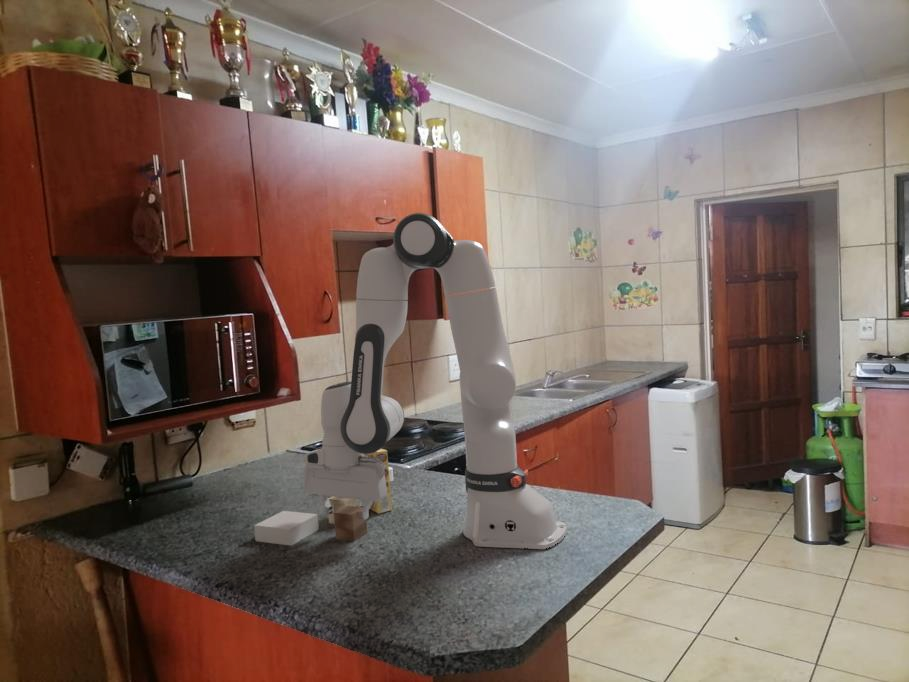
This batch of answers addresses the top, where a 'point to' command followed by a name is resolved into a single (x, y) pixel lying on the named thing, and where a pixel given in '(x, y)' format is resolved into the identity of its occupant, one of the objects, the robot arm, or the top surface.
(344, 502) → the beech block
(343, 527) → the walnut block
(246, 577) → the top surface
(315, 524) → the stone slab
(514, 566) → the top surface
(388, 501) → the candy box
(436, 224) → the robot arm
